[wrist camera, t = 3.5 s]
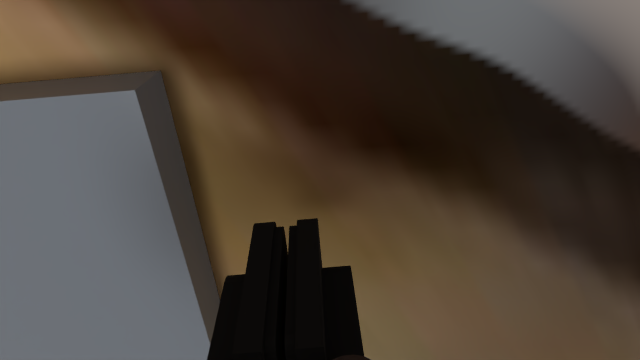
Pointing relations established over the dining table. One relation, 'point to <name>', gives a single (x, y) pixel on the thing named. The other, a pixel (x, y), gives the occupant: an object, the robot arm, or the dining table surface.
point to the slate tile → (99, 225)
